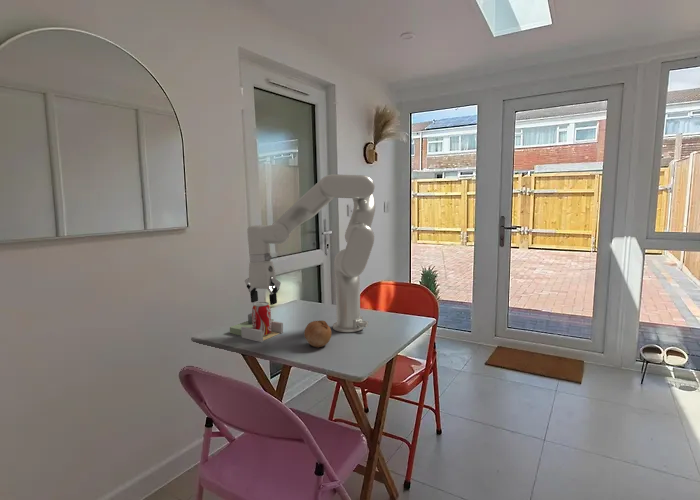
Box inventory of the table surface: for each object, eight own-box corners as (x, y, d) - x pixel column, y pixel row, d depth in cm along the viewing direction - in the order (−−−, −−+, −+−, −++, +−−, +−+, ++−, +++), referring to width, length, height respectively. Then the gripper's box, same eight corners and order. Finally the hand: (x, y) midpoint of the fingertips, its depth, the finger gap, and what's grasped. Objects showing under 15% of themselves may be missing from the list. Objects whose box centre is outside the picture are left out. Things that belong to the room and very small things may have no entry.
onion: (329, 352, 138) (341, 328, 137) (311, 353, 131) (324, 328, 130) (312, 337, 144) (324, 314, 143) (294, 338, 137) (306, 313, 135)
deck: (292, 328, 156) (291, 315, 156) (261, 342, 141) (260, 327, 141) (259, 322, 166) (259, 309, 165) (227, 334, 151) (226, 320, 150)
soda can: (267, 337, 145) (266, 306, 144) (249, 337, 147) (248, 305, 145) (274, 331, 152) (273, 301, 151) (257, 331, 154) (256, 301, 152)
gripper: (284, 257, 144) (288, 302, 147) (250, 256, 153) (254, 298, 156) (270, 260, 138) (274, 307, 140) (236, 259, 147) (240, 303, 149)
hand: (264, 302), depth 148 cm, fingers open, 9 cm apart
